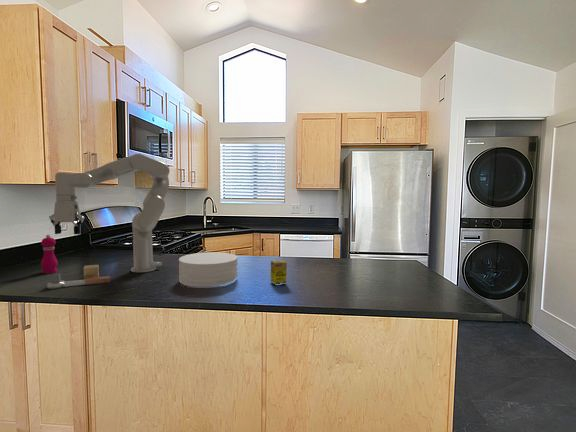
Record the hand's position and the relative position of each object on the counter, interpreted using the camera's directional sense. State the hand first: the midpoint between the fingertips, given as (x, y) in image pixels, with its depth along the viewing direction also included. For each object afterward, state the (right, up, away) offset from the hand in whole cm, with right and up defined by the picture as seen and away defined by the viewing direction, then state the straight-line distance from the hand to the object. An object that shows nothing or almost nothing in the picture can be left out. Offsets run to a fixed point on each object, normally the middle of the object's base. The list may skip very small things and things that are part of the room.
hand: (67, 233), depth 153 cm
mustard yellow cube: (+9, -22, +4) cm, 24 cm away
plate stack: (+68, -24, +4) cm, 72 cm away
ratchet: (+9, -23, -7) cm, 26 cm away
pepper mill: (-19, -21, +14) cm, 32 cm away
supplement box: (+102, -24, -1) cm, 105 cm away
